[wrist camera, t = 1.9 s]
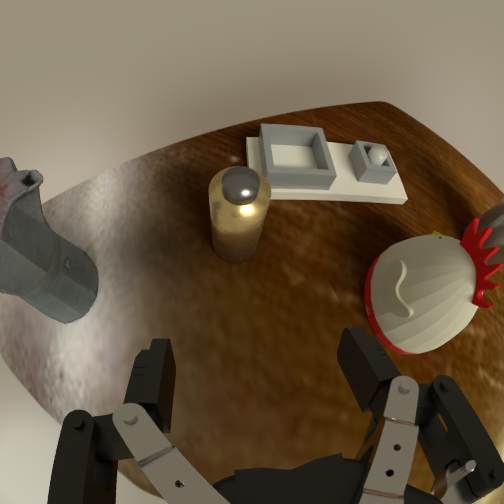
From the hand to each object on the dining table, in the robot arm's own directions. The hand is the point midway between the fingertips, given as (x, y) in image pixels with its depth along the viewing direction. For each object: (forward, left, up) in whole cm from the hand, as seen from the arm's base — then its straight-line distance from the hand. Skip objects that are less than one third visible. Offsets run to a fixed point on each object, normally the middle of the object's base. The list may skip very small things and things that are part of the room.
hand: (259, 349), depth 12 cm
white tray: (-13, -22, -15) cm, 29 cm away
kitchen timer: (-21, -4, -15) cm, 26 cm away
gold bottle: (0, -12, -15) cm, 19 cm away
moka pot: (+20, -7, -15) cm, 26 cm away
